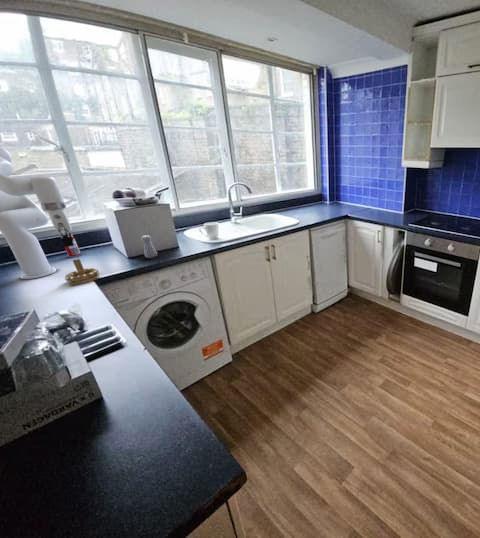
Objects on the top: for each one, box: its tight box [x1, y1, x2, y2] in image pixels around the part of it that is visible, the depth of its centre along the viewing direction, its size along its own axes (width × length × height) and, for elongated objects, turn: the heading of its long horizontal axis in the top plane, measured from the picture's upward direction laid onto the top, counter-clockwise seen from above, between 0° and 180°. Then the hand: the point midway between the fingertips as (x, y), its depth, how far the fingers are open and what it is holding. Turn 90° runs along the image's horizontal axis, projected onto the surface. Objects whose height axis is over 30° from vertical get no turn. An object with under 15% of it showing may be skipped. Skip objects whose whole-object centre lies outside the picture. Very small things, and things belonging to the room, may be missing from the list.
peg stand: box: [70, 258, 99, 287], centre depth 136 cm, size 9×9×10 cm
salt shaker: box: [140, 235, 158, 259], centre depth 160 cm, size 6×6×13 cm
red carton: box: [64, 234, 82, 258], centre depth 169 cm, size 6×6×12 cm
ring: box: [64, 267, 100, 283], centre depth 137 cm, size 12×12×2 cm
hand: (68, 243), depth 134 cm, fingers open, 9 cm apart
